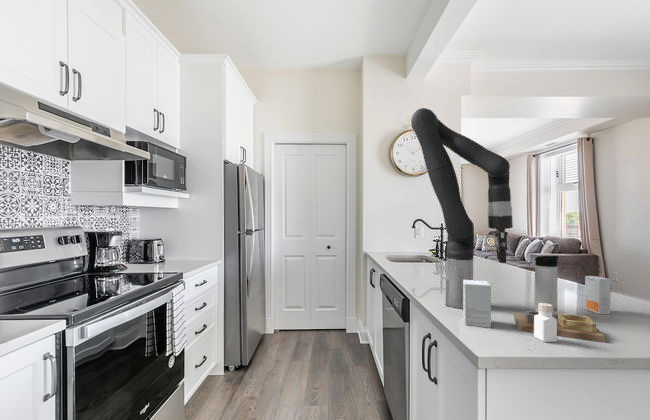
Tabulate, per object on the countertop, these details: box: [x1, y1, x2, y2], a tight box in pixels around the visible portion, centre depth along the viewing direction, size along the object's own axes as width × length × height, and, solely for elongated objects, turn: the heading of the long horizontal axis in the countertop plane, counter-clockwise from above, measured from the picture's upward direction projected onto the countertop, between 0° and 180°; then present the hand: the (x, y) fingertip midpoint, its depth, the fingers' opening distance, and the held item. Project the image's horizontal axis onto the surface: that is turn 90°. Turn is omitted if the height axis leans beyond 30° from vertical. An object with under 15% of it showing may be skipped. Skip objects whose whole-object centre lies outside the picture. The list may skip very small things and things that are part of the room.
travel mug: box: [534, 255, 559, 319], centre depth 112 cm, size 6×7×20 cm
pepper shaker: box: [533, 303, 558, 343], centre depth 90 cm, size 4×4×10 cm
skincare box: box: [584, 275, 612, 315], centre depth 117 cm, size 6×4×12 cm
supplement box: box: [462, 279, 492, 328], centre depth 104 cm, size 7×7×13 cm
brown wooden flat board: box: [513, 310, 606, 343], centre depth 98 cm, size 20×12×4 cm, turn 65°
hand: (501, 261), depth 117 cm, fingers open, 8 cm apart
